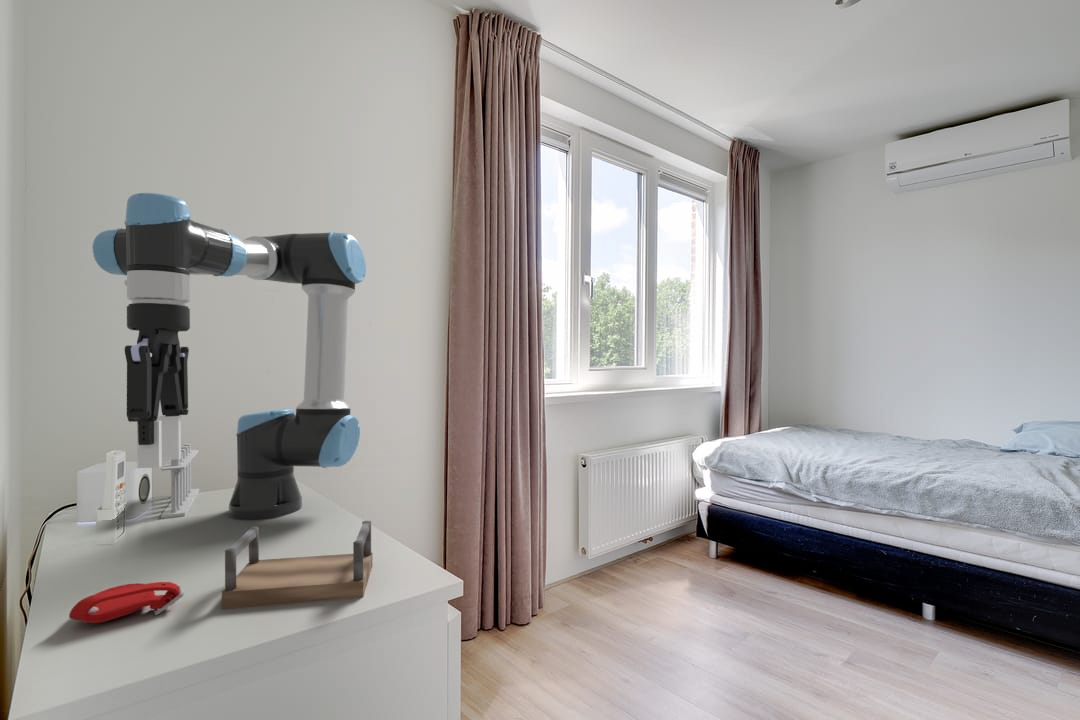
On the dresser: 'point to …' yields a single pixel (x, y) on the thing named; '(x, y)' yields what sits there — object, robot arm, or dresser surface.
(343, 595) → the wooden serving tray
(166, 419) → the robot arm
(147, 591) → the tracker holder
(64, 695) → the dresser surface
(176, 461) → the test tube rack
